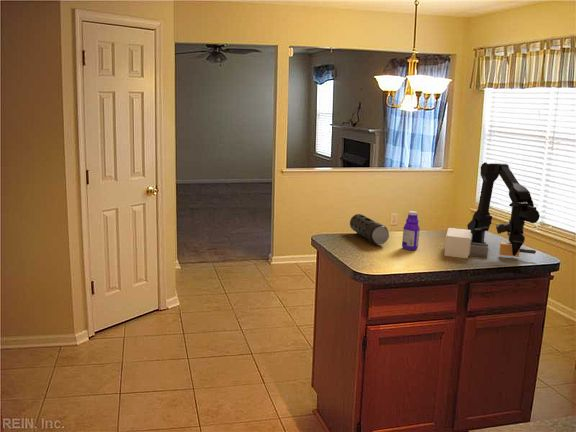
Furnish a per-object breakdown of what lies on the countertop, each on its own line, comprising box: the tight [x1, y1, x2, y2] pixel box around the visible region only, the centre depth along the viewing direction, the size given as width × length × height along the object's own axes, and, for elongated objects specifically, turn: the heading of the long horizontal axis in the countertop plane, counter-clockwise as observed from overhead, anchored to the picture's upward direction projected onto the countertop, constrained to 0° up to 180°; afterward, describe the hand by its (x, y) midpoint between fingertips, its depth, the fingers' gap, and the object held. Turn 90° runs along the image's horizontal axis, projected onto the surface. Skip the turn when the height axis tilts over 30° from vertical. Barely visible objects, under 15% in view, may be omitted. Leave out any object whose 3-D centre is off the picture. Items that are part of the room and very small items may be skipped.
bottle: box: [401, 210, 420, 251], centre depth 267 cm, size 7×6×17 cm
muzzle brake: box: [349, 213, 390, 245], centre depth 282 cm, size 10×28×10 cm, turn 15°
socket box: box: [444, 227, 489, 259], centre depth 264 cm, size 18×18×9 cm
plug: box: [498, 241, 537, 258], centre depth 258 cm, size 15×4×5 cm, turn 72°
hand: (513, 253), depth 259 cm, fingers open, 9 cm apart
